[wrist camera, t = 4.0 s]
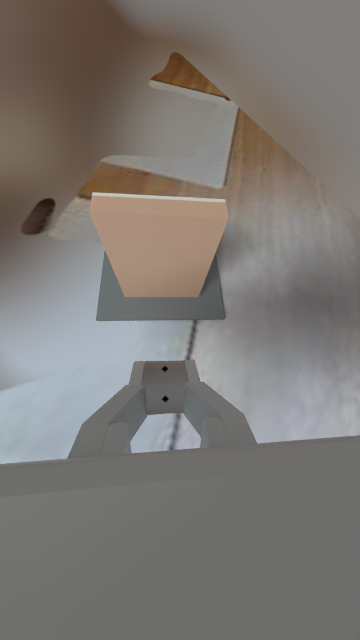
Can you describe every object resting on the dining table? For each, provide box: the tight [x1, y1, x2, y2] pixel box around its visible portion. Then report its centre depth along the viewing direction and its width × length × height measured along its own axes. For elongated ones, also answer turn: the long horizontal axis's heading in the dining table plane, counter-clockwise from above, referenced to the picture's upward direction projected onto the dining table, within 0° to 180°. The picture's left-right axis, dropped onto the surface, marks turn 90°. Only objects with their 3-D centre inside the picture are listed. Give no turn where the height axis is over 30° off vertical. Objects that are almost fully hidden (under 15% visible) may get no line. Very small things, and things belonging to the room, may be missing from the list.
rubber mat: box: [96, 251, 225, 321], centre depth 33 cm, size 24×20×1 cm
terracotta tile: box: [89, 192, 229, 297], centre depth 23 cm, size 2×12×15 cm, turn 92°
